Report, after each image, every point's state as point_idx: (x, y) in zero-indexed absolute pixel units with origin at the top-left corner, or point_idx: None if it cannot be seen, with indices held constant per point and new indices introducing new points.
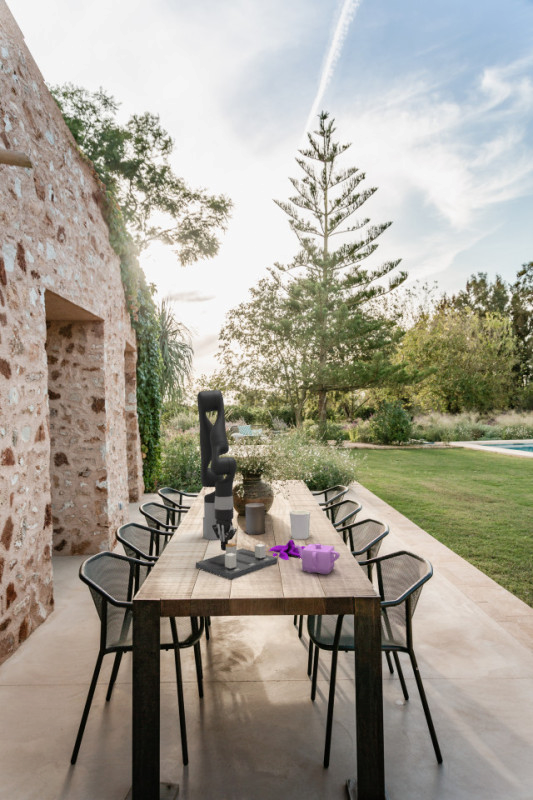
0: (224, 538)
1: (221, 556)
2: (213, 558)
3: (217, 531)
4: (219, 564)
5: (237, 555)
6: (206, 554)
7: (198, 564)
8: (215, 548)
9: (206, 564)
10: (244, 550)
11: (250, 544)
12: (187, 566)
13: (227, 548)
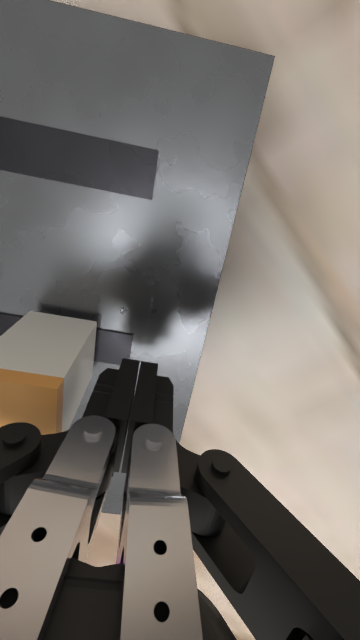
0: (60, 451)
1: (167, 340)
2: (191, 267)
3: (264, 571)
4: (9, 136)
5: (81, 411)
6: (354, 387)
7: (228, 50)
8: (355, 486)
9: (129, 65)
10: (119, 498)
11: (213, 587)
12: (357, 62)
13: (43, 359)
